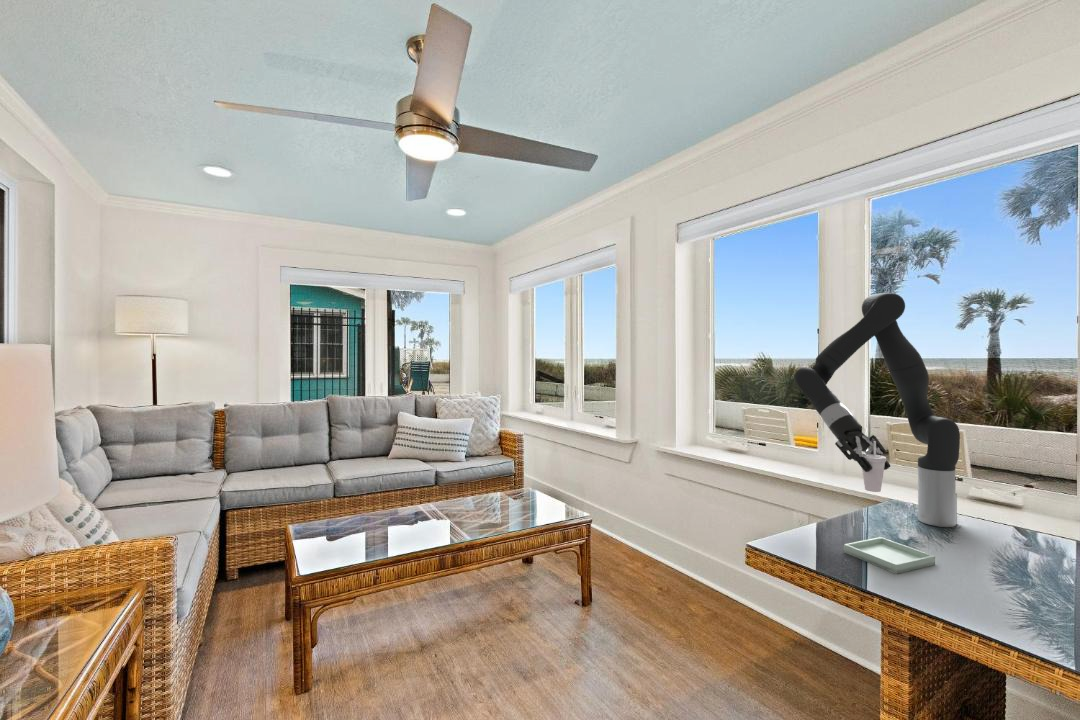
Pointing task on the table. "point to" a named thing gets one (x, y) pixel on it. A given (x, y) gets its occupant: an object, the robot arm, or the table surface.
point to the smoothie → (874, 471)
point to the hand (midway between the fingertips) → (878, 469)
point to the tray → (889, 555)
